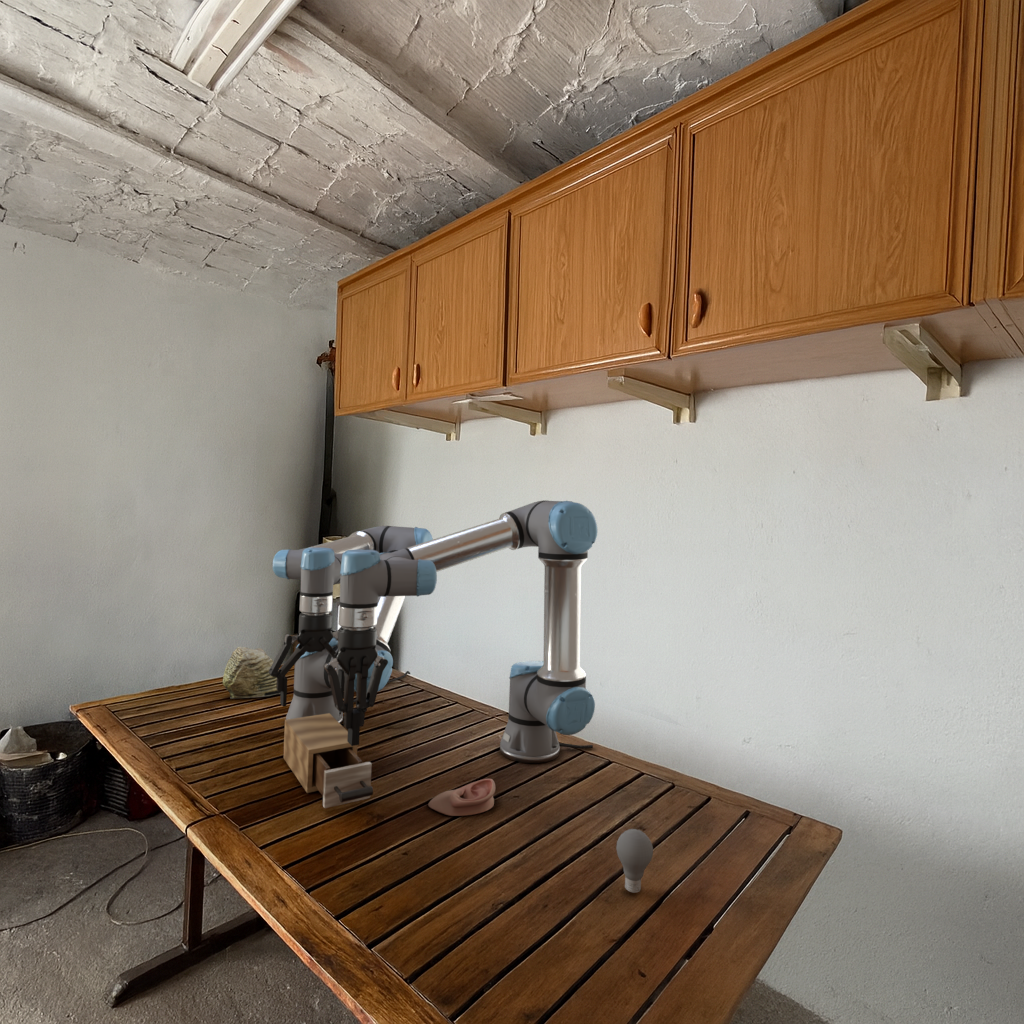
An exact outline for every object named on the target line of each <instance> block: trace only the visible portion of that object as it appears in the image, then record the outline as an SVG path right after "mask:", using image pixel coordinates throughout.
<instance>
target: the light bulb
mask: <svg viewBox="0 0 1024 1024" xmlns="http://www.w3.org/2000/svg"><path fill="white" fill-rule="evenodd" d="M615 849H616V854H617V857H618V859H619V861H620V863H621V865H622V867H623V873H624V874H623V875H624V876H625V878H624V888H625V890H627V891H628V892H630V893H634V894H635V893H639V892H640V891H641V889H642V887H641V886H642V879H643V877H644V875H645V871H646V868H647V867H648V866H649V864H650V863H651V861H652V859H653V855H654V847H653V843H652V841H651V838H649V836H648V835H647V834H646V833H645V832H643V831H642V830H641V829H636V828H629V829H627V830H625V831H623V832H622V833H621V834H620V835H619V837H618V839H617V841H616V847H615Z"/></svg>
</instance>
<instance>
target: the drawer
mask: <svg viewBox="0 0 1024 1024" xmlns="http://www.w3.org/2000/svg"><path fill="white" fill-rule="evenodd" d="M372 764H373V763H372V762H371V761H365V762H363V760H362V759H361V757H359V756H358V754H357V755H356V754H355V753H354V752H353V751H352V750H351V749H350V748H349V747H348V748H343V749H337V750H332V751H326V752H321V753H315V754H313V774H312V782H313V783H314V785H315V786H316V787H317V789H318V790H319V791H318V792H319V793H320V795H321V796H322V807H323V809H329V808H332V807H338V806H342V805H346V804H349V803H355V802H359V801H363V800H367V799H371V796H373V795H374V788H373V786H372V766H373V765H372Z"/></svg>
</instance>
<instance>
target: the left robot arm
mask: <svg viewBox="0 0 1024 1024" xmlns="http://www.w3.org/2000/svg"><path fill="white" fill-rule="evenodd" d="M433 539H434V538H433V535H432V533H431V531H430V530H428V529H427V528H423V527H418V526H415V527H411V526H409V527H408V526H398V525H397V526H396V525H395V526H394V525H378V526H374V527H369V528H365V529H362V530H357V531H354V532H352V533H351V534H350V535H348V536H347V537H344V538H340V539H336V540H331V541H327V542H323V543H321V544H316V545H311V546H309V547H304V548H300V549H291V548H289V549H280V550H278V551H277V552H276V554H274V556H273V559H272V571H273V573H274V575H275V576H276V577H278V578H281V579H286V580H299V581H300V591H299V592H300V593H299V612H301V613H299V616H298V632H297V634H296V635H295V634H289V633H285V634H284V637H283V643H282V645H281V646H280V649H279V651H278V653H277V654H276V657H275V658H274V660H273V661H274V662H273V664H272V666H271V667H270V669H269V674H270V675H271V676H272V677H277V685H276V689H277V691H278V692H281V693H280V694H279V695H280V698H279V699H280V700H279V704H280V705H281V706H282V707H287V699H288V677H287V676H286V675H287V674H288V673H289V672H290V670H291V669H292V668H293V667H294V672H293V695H292V696H293V697H292V699H291V702H290V704H289V708H288V711H287V713H286V715H285V720H288V719H294V718H301V717H308V716H314V715H321V714H328V713H330V714H331V715H332V716H333V717H334V718H335V719H336V720H337V721H338V722H339V723H340V724H341V725H342V723H344V712H343V711H342V712H341V711H339V710H338V709H337V708H336V707H335V704H334V699H333V695H332V690H331V685H330V680H329V676H328V673H327V671H326V670H325V669H324V667H323V665H324V664H325V663H329V662H331V661H332V660H333V659H335V654H336V653H337V650H338V630H339V629H337V630H336V631H332V628H333V627H332V626H333V614H332V613H331V612H332V611H333V598H334V597H333V596H334V585H335V586H336V585H340V575H341V574H340V571H341V562H342V555H343V553H344V552H345V551H347V550H357V549H359V550H375V551H378V552H379V553H384V552H390V553H392V552H395V551H398V550H402V549H406V548H408V547H411V546H414V545H418V544H421V543H424V542H427V541H430V540H433ZM406 597H407V596H386V597H378V608H377V624H376V625H375V626H374V627H375V628H376V629H377V636H376V650H377V652H378V655H379V656H380V657H383V658H385V659H387V660H388V664H387V665H386V667H385V669H384V670H383V673H382V677H381V681H380V684H379V688H378V692H380V691H382V690H383V689H384V688H385V686H386V685H387V684H391V683H393V682H395V681H399V680H401V679H404V678H405V677H407V675H411V672H410V671H409V670H407V671H406V672H405V673H404V674H402V675H400V676H398V677H395V678H392V679H390V678H391V675H392V673H393V668H392V667H393V666H394V659H393V656H392V654H391V648H390V645H389V641H390V638H391V636H392V633H393V631H394V628H395V626H396V623H397V620H398V618H399V615H400V613H401V610H402V607H403V605H404V602H405V599H406ZM296 641H297V643H298V644H297V645H296V647H295V650H293V653H291V654H290V656H289V657H288V658H287V655H288V653H289V651H290V649H291V647H292V646H293V645H294V644H295V642H296ZM286 658H287V660H286V661H285V659H286ZM373 667H374V662H373V664H372V665H371V667H370V668H369V669H368V677H367V689H368V686H369V682H370V678H371V674H372V671H373ZM336 672H337V674H338V678H339V683H340V688H341V693H342V697H343V699H344V683H345V676H344V670H343V669H342V668H341V666H340V665H339V664H338V670H337V671H336ZM367 689H366V693H367ZM356 690H357V674H356V678H355V681H354V693H356ZM354 703H356V698H354Z"/></svg>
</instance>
